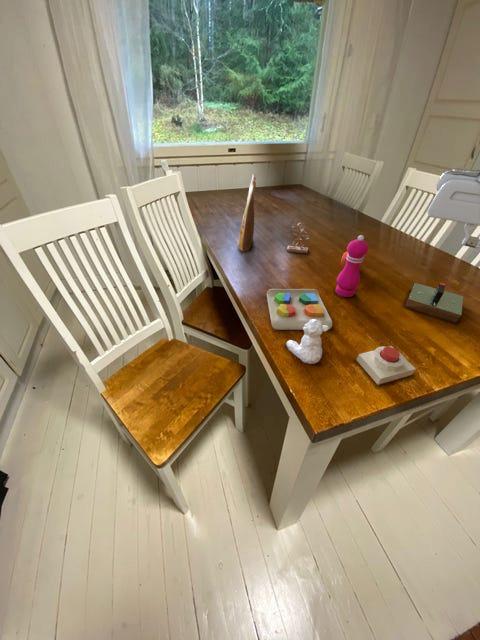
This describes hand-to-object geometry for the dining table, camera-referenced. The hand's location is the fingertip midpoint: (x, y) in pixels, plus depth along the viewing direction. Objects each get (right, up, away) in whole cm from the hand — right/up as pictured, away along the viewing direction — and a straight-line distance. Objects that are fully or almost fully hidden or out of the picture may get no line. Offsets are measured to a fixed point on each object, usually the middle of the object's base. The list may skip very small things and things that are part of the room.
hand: (469, 246), depth 58 cm
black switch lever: (+13, -9, +28) cm, 32 cm away
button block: (-14, -27, +9) cm, 32 cm away
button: (-14, -25, +7) cm, 29 cm away
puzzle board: (-31, -13, +27) cm, 43 cm away
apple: (-6, +4, +49) cm, 49 cm away
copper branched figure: (-24, +15, +61) cm, 67 cm away
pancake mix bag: (-45, +18, +66) cm, 82 cm away
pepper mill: (-13, -6, +35) cm, 38 cm away
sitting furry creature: (-31, -25, +12) cm, 42 cm away
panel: (+13, -11, +30) cm, 34 cm away
